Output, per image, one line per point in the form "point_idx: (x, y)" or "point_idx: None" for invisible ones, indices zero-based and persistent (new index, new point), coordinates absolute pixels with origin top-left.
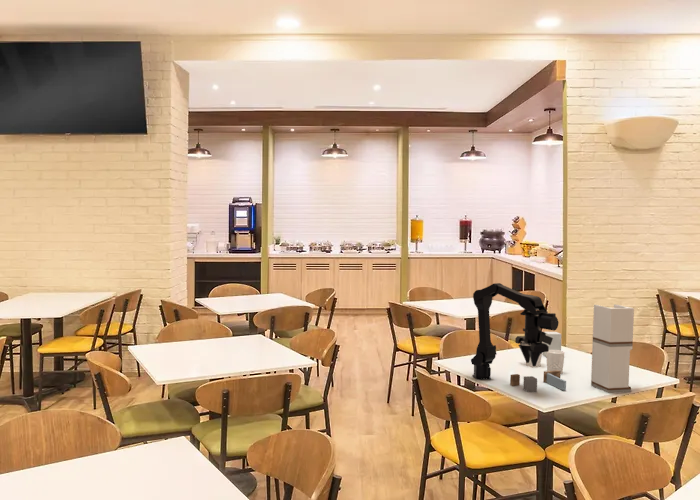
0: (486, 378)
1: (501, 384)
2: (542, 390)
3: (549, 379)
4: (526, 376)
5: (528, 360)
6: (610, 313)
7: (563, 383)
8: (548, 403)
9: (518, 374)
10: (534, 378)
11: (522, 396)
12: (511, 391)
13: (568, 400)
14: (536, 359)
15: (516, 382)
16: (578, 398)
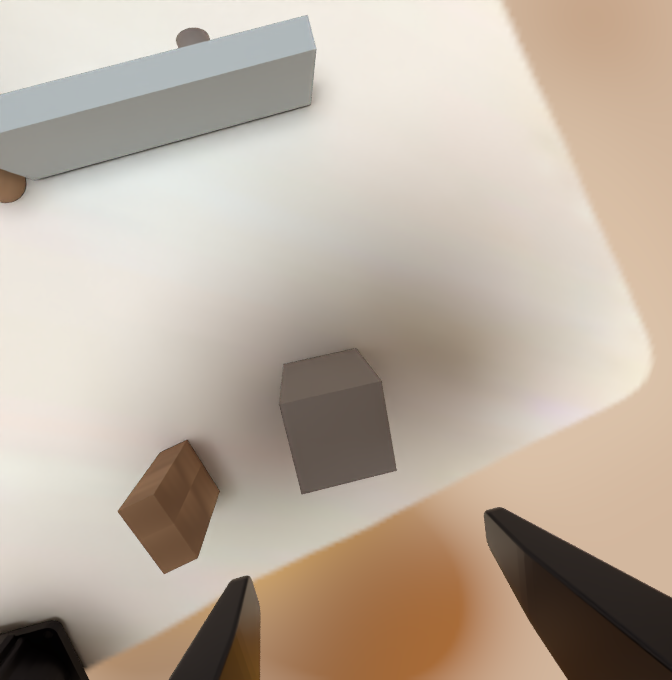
0: (69, 653)
1: None
2: (307, 292)
3: (51, 152)
4: (297, 468)
5: (247, 623)
6: None
7: (304, 68)
8: (605, 333)
9: (136, 504)
10: (366, 404)
11: (465, 462)
12: (359, 512)
13: (553, 165)
14: (665, 627)
15: (195, 479)
16: (507, 52)
